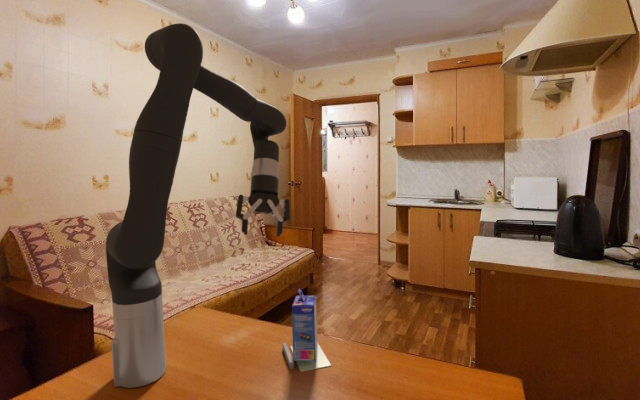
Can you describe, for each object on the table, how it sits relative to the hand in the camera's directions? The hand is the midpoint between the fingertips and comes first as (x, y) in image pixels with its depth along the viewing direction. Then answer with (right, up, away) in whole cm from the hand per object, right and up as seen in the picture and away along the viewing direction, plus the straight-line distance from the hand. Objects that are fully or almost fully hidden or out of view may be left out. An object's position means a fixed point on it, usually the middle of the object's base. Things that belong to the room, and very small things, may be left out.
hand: (261, 235), depth 89 cm
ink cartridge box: (+12, -26, -11) cm, 31 cm away
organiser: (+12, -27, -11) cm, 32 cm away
